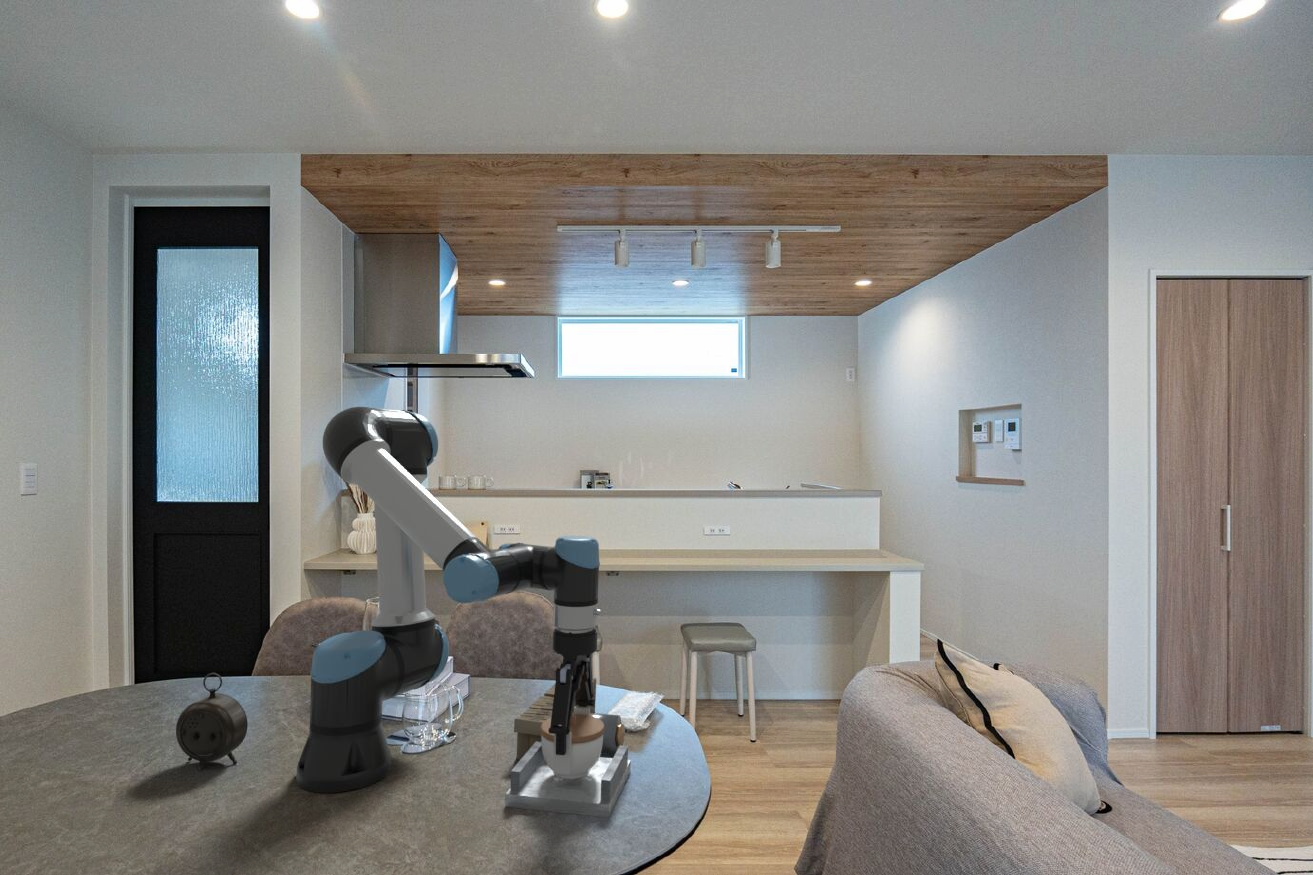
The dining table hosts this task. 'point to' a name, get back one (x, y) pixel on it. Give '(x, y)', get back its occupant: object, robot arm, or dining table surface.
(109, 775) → the dining table surface
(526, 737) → the block tower
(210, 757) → the alarm clock
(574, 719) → the lidded jar
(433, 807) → the dining table surface
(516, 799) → the motor cradle
